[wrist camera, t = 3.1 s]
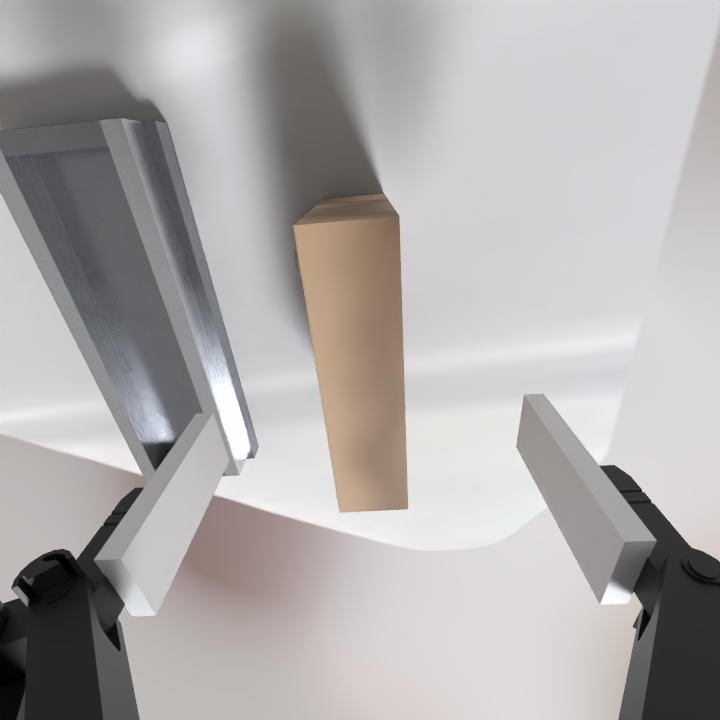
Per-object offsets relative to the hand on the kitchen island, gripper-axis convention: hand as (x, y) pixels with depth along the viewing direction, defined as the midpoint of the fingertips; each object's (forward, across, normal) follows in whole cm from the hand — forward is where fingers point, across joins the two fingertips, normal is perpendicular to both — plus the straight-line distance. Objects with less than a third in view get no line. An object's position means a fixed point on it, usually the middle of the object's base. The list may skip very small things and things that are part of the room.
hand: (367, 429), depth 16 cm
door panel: (+14, 0, 0) cm, 14 cm away
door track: (+14, -16, 0) cm, 21 cm away
